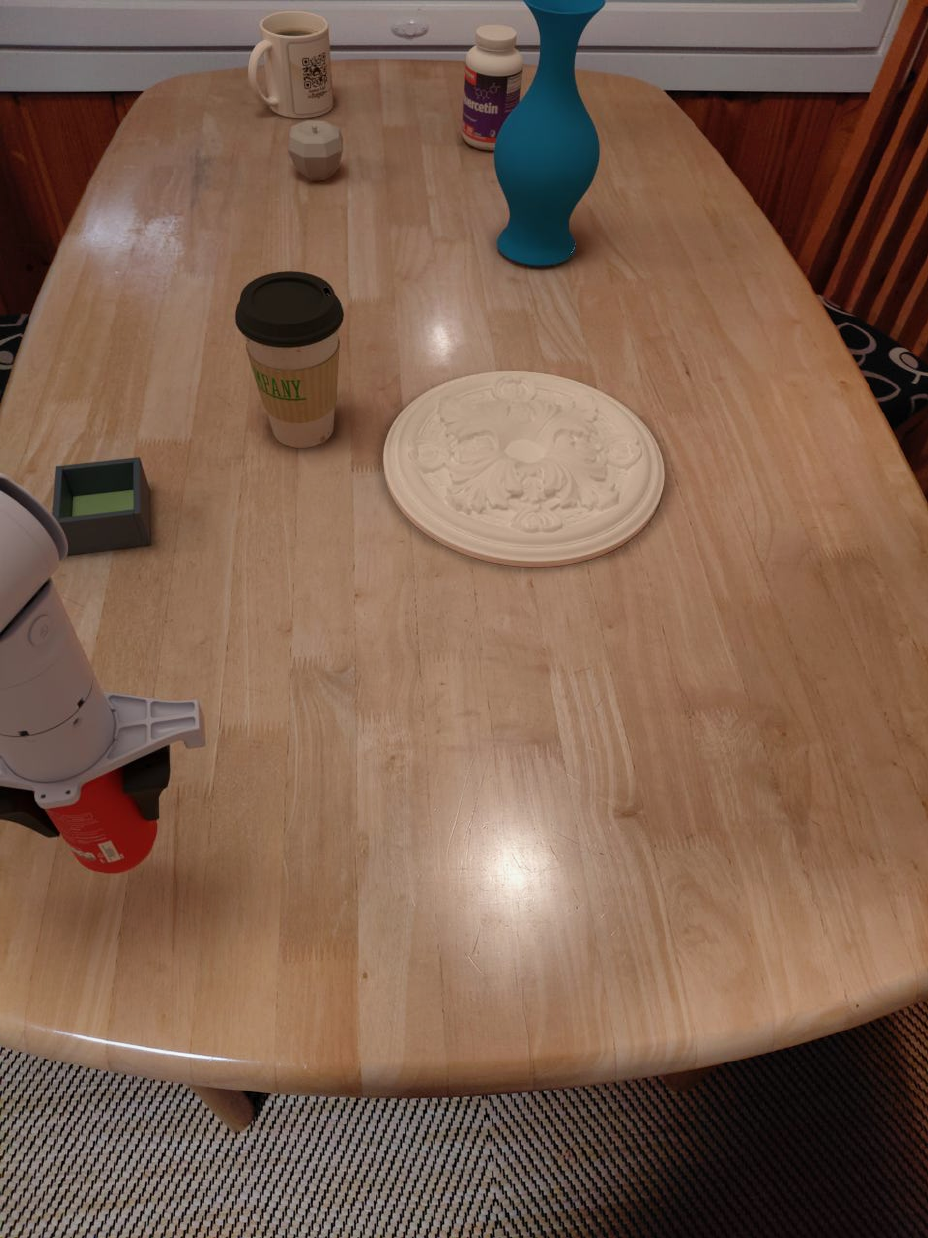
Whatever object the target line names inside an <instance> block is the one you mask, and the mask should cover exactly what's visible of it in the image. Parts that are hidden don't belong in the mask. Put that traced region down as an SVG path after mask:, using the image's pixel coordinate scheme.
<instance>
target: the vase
mask: <svg viewBox="0 0 928 1238" xmlns="http://www.w3.org/2000/svg"><path fill="white" fill-rule="evenodd" d="M522 1H523V3H524V4H525V6H526V7H527V8H528V9H529V11H530V13H531V14H532V16H533V18H534V20H535V23H536V25H537V30H538V34H539V56H538V57H539V59H538V64H537V69H536V72H535V74H534V77H533V79H532V82H531V83H530V86H529V87H528V89H527V91H526V92H525V94H524V95H523V96H522V98H520V102H519V103H518V105H517V106H516V107H515V108H514V109H513V110H512V112H511V113H510V114H509V115H508V117H507V118H506V120H505V121H504V123H503V125H502V126H501V128H500V130H499V133H498V135H497V138H496V142H495V147H494V151H493V163H494V164H493V165H494V172H495V176H496V179H497V182H498V184H499V187H500V189H501V191H502V193H503V196H504V198H505V201H506V203H507V208H508V211H509V217H508V222H507V225H506V227H505V228H504V229H503V230H502V231H501V232H500V234H499V235H498V237H497V239H496V246H497V247H496V248H497V249H498V251H499V252H500V253H501V254H502V255H504V257H506V258H507V259H508V260H510V261H512V262H514V263H517V264H520V265H523V266H529V267H535V268H538V267H551V266H557V265H559V264H561V263H564V262H566V261H567V260H569V259H570V258H572V257H573V256H574V254H575V253H576V252H577V241H576V239H575V237H574V236H573V234H572V233H571V230H570V221H571V218H572V214H573V213H574V210H575V209H576V207H577V205H578V204H579V202H580V201H581V200H582V199H583V197H584V195H585V194H586V193H587V191H588V190H589V188H590V186H591V185H592V183H593V181H594V179H595V176H596V173H597V170H598V167H599V163H600V155H601V148H600V145H601V144H600V139H599V135H598V132H597V128H596V125H595V124H594V121H593V119H592V117H591V116H590V114H589V112H588V110H587V108H586V106H585V104H584V102H583V99H582V97H581V95H580V92H579V88H578V85H577V80H576V57H577V51H578V46H579V42H580V39H581V36H582V34H583V33H584V30H585V29H586V27H587V25H588V24H589V23H590V21H591V20H593V18H594V17H595V16H596V15H597V14H598V13H599V12H600V11H601V10H602V9H603V8H604V7H605V5H606V1H607V0H522ZM575 243H576V245H575ZM574 247H575V249H574ZM573 249H574V250H573ZM572 251H573V252H572ZM571 252H572V253H571Z"/></svg>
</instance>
